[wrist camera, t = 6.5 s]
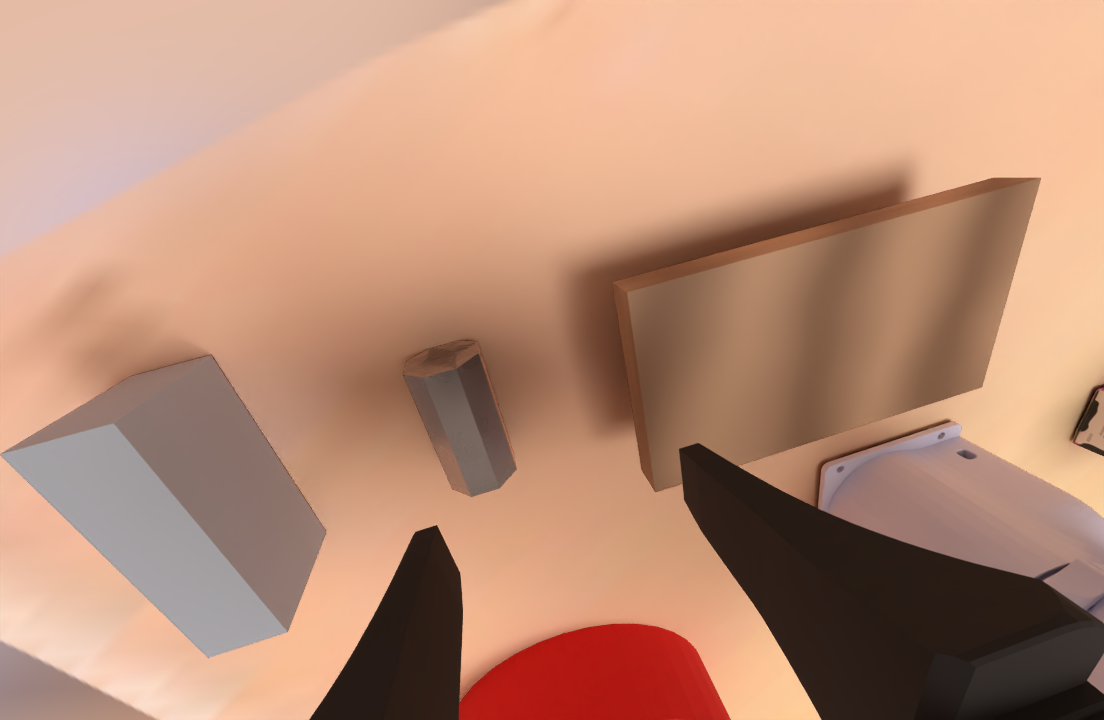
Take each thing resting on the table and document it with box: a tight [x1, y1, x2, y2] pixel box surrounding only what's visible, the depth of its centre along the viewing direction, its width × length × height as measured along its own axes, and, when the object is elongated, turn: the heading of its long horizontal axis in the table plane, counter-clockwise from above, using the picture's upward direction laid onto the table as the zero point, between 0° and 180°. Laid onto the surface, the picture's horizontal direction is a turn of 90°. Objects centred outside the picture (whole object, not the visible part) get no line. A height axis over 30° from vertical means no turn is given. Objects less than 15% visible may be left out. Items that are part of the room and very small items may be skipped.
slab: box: [612, 178, 1041, 492], centre depth 17 cm, size 16×9×2 cm, turn 102°
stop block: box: [0, 355, 326, 658], centre depth 16 cm, size 3×10×5 cm, turn 12°
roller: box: [403, 340, 517, 497], centre depth 18 cm, size 3×6×3 cm, turn 12°
